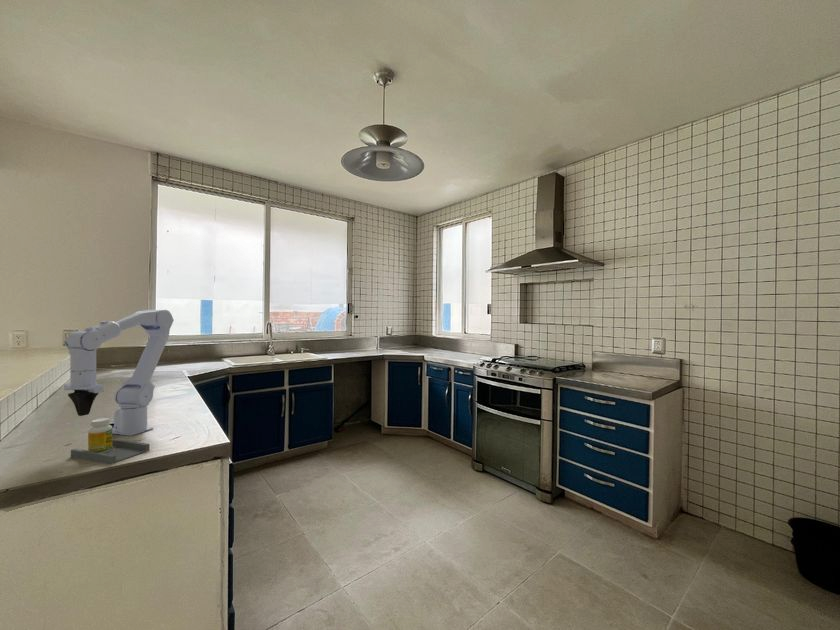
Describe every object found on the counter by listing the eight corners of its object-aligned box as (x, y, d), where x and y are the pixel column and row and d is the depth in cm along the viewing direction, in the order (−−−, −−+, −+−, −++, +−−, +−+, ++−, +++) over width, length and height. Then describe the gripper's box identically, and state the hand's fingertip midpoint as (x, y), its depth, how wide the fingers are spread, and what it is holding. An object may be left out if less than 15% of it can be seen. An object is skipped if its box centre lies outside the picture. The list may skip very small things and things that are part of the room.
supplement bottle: (92, 450, 105) (92, 418, 105) (115, 447, 108) (115, 416, 108) (84, 456, 100) (84, 423, 100) (108, 453, 103) (108, 421, 103)
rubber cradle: (70, 456, 100) (70, 449, 100) (110, 444, 110) (110, 438, 110) (111, 464, 95) (111, 456, 95) (149, 450, 105) (149, 443, 105)
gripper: (51, 371, 105) (51, 416, 105) (83, 373, 100) (83, 420, 100) (79, 368, 111) (80, 410, 111) (111, 369, 107) (111, 414, 107)
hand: (83, 414), depth 106 cm, fingers closed
